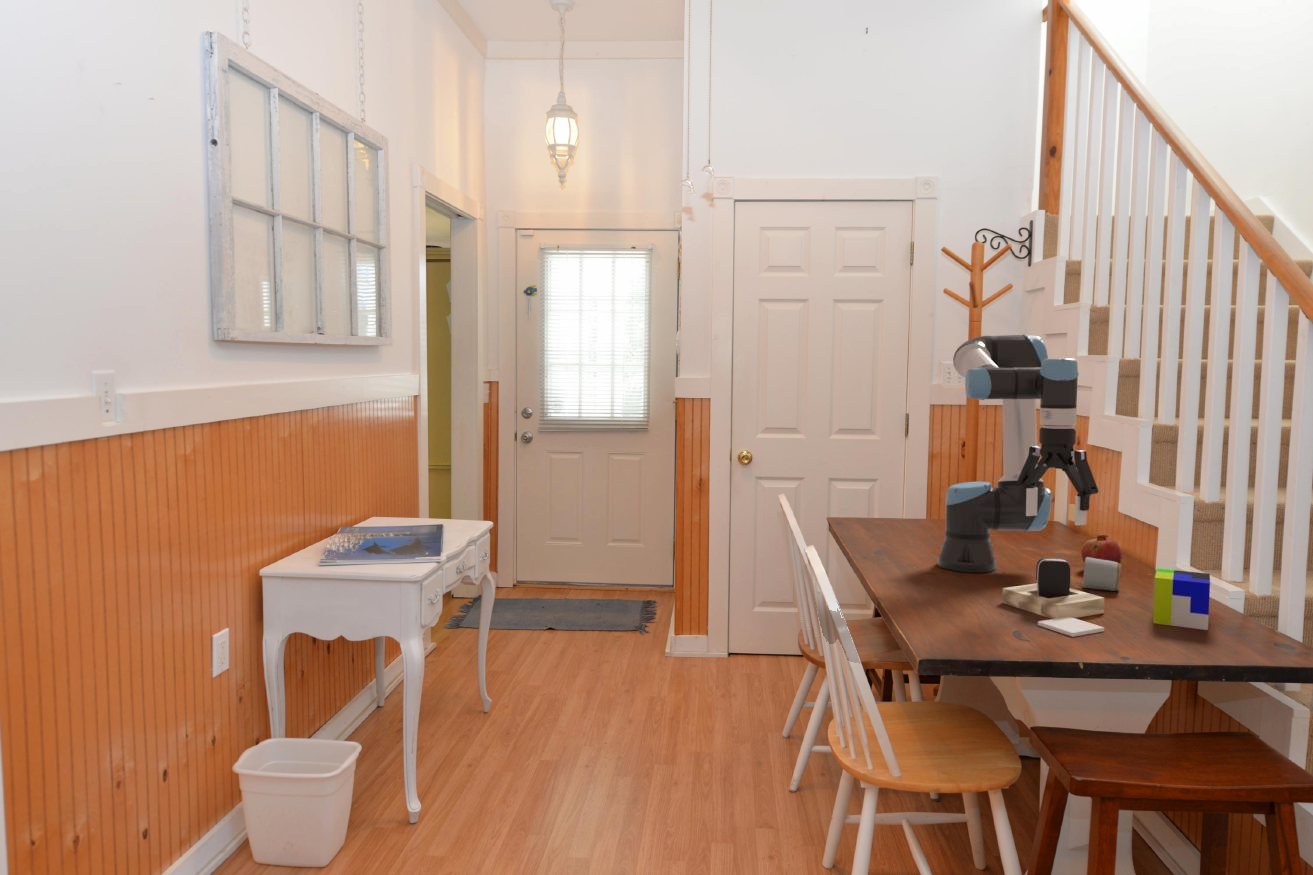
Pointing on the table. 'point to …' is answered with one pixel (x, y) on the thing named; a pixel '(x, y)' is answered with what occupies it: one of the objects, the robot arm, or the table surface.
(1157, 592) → the puzzle toy
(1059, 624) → the white square tile
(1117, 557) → the fruit
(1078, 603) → the holder block
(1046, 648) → the table surface
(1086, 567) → the grey rounded block
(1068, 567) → the battery charger
